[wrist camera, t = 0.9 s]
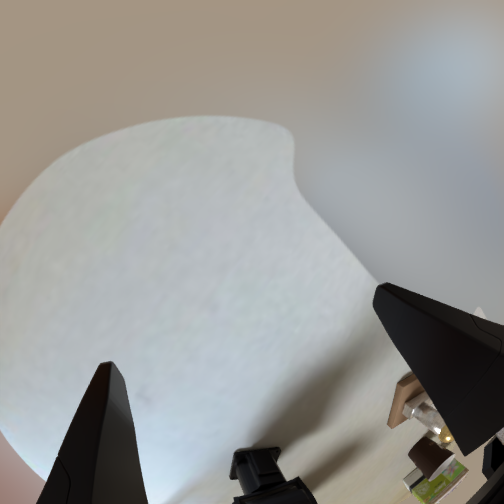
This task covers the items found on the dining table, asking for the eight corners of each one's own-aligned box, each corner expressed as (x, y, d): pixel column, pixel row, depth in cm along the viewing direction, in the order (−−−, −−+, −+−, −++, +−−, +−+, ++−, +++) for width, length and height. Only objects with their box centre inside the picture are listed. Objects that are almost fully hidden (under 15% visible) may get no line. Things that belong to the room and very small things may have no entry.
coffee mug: (404, 452, 45) (429, 475, 35) (430, 427, 46) (457, 448, 37) (405, 467, 48) (427, 487, 39) (429, 445, 50) (452, 464, 40)
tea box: (439, 445, 53) (470, 469, 39) (439, 454, 56) (466, 477, 42) (401, 480, 51) (429, 508, 37) (404, 486, 54) (429, 511, 40)
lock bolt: (401, 415, 36) (444, 451, 26) (405, 401, 36) (452, 436, 25) (435, 393, 39) (476, 421, 28) (439, 378, 38) (483, 406, 27)
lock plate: (387, 424, 39) (407, 442, 33) (397, 383, 37) (421, 401, 31) (449, 382, 44) (468, 394, 38) (460, 342, 41) (482, 353, 36)
